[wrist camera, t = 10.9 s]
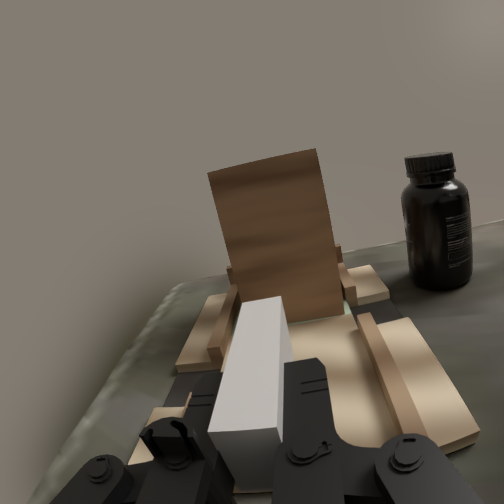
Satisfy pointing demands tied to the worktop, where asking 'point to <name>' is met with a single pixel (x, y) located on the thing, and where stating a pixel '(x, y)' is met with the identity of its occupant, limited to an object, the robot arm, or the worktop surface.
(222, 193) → the walnut block
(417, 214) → the supplement bottle
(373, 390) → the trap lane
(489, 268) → the worktop surface
